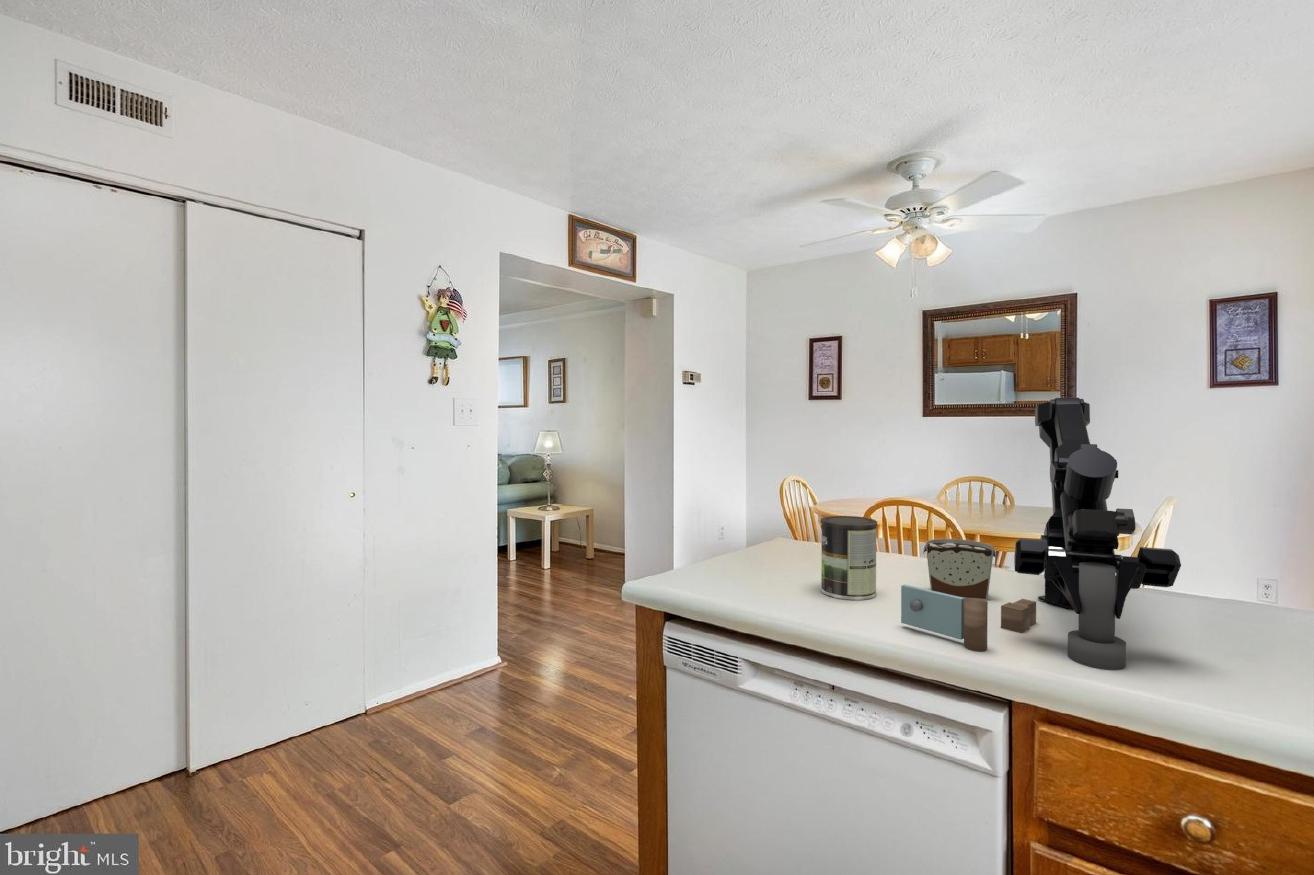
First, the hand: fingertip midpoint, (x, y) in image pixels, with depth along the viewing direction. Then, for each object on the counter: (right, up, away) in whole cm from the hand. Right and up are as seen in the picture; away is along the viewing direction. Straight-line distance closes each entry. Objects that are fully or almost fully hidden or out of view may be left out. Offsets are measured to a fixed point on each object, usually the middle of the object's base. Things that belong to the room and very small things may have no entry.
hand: (1098, 615), depth 80 cm
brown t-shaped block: (-6, -6, +11) cm, 15 cm away
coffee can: (-23, -6, +35) cm, 42 cm away
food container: (-2, -6, +33) cm, 34 cm away
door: (-18, -6, +11) cm, 22 cm away
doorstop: (+1, -7, +1) cm, 7 cm away
